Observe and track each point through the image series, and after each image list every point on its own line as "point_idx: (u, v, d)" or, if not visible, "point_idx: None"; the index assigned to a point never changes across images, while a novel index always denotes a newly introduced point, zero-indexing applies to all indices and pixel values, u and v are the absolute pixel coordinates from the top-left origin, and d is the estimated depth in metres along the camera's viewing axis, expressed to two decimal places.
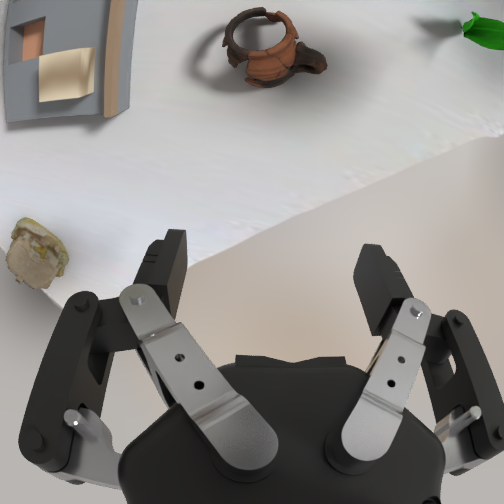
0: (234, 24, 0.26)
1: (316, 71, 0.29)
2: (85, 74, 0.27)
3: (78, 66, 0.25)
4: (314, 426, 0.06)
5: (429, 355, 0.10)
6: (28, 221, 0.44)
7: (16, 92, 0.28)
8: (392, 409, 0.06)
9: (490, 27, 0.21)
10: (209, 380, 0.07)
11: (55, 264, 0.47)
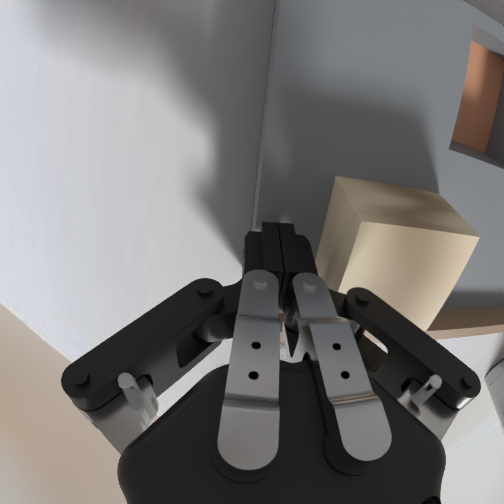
0: None
1: None
2: None
3: None
4: (314, 426, 0.06)
5: None
6: None
7: (385, 19, 0.09)
8: (366, 398, 0.06)
9: None
10: (265, 376, 0.07)
11: None
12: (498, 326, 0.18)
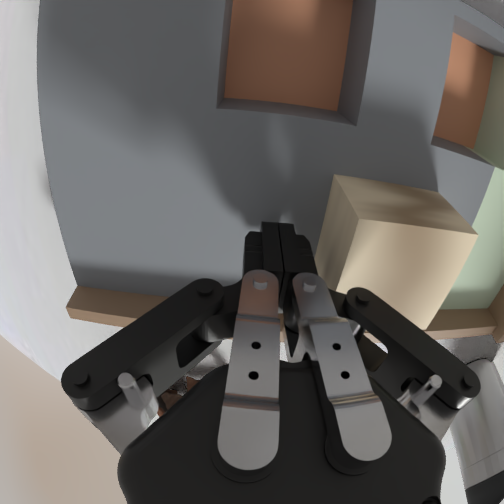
0: None
1: None
2: None
3: None
4: (314, 426, 0.06)
5: None
6: None
7: (116, 1, 0.08)
8: (366, 398, 0.06)
9: None
10: (265, 377, 0.07)
11: None
12: None
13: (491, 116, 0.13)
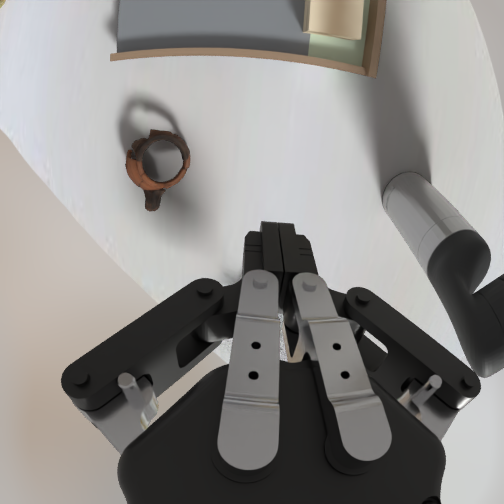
0: (166, 140, 0.37)
1: (145, 204, 0.43)
2: (328, 34, 0.27)
3: (342, 35, 0.26)
4: (314, 426, 0.06)
5: None
6: None
7: None
8: (366, 398, 0.06)
9: None
10: (265, 376, 0.07)
11: None
12: (276, 53, 0.29)
13: None
